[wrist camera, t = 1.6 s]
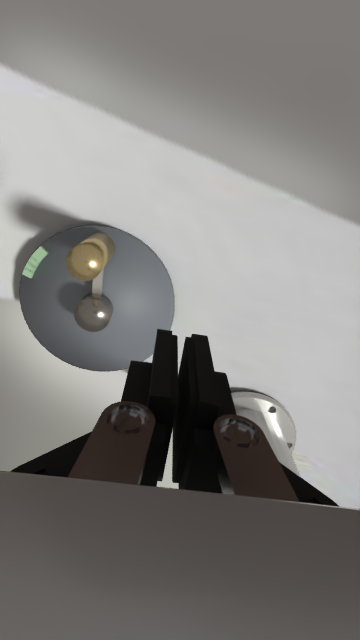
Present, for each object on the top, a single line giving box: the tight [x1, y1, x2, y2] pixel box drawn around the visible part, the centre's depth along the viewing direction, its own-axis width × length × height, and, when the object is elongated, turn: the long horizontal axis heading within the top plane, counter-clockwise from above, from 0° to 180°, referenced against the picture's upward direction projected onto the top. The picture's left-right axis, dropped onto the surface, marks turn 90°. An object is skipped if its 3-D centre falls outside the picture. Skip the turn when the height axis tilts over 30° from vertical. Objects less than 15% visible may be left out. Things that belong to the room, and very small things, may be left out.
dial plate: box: [19, 225, 174, 371], centre depth 31 cm, size 14×14×2 cm
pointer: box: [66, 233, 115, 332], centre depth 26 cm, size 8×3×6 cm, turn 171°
